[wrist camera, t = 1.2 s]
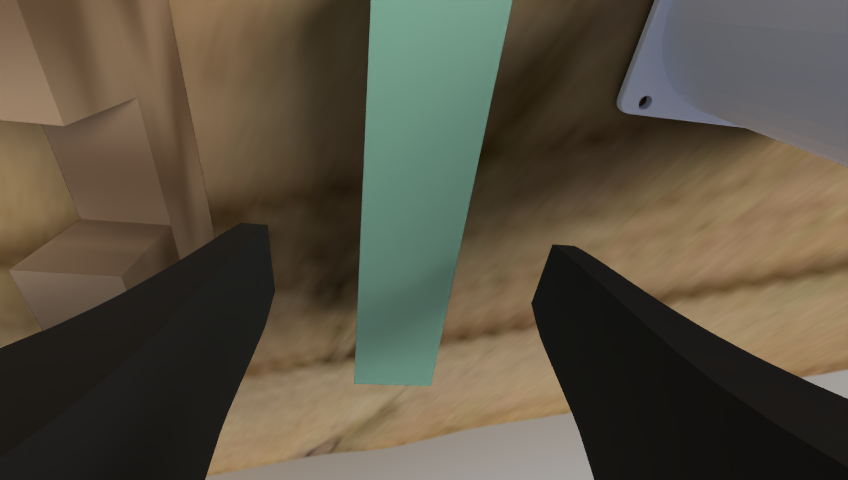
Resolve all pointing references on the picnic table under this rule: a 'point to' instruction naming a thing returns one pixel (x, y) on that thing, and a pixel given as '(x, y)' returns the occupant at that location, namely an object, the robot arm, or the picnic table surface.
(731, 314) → the picnic table surface
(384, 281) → the green notched bar
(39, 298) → the walnut notched bar
